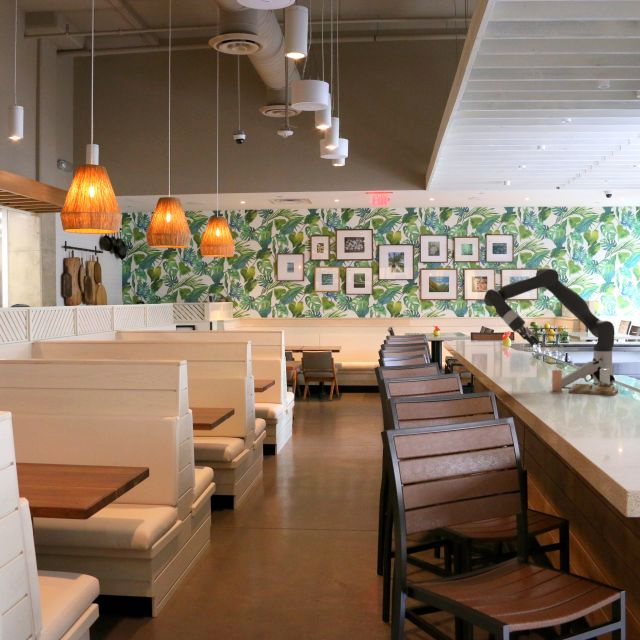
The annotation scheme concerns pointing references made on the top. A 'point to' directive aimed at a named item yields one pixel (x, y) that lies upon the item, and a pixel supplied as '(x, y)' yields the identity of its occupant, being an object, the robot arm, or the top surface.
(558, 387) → the pin
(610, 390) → the wooden compartment tray
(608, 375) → the pin
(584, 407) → the top surface
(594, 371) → the handgun
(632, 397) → the top surface
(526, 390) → the top surface
